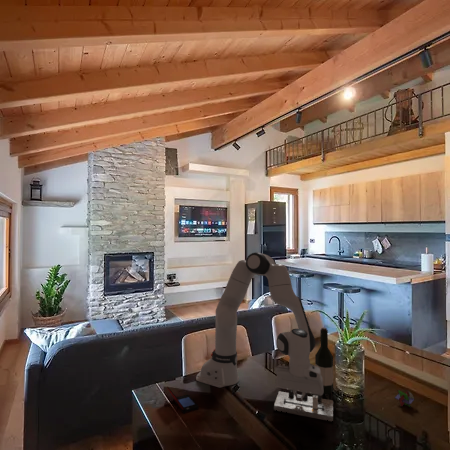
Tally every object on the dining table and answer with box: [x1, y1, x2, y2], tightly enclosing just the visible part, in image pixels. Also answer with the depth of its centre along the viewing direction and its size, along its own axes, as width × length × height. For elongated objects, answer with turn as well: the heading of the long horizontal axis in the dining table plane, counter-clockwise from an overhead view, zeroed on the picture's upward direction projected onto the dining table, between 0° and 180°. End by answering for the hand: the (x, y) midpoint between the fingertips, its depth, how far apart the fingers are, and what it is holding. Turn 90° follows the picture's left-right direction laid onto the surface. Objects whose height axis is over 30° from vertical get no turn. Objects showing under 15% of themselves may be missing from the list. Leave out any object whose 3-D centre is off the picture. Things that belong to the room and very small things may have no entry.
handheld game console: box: [166, 386, 200, 414], centre depth 136 cm, size 12×11×7 cm
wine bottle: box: [314, 327, 334, 395], centre depth 150 cm, size 8×8×30 cm
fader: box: [312, 394, 318, 409], centre depth 131 cm, size 2×3×4 cm, turn 160°
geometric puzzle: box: [394, 389, 416, 408], centre depth 137 cm, size 7×7×8 cm
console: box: [273, 389, 334, 422], centre depth 134 cm, size 24×13×4 cm, turn 71°
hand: (299, 400), depth 133 cm, fingers closed
